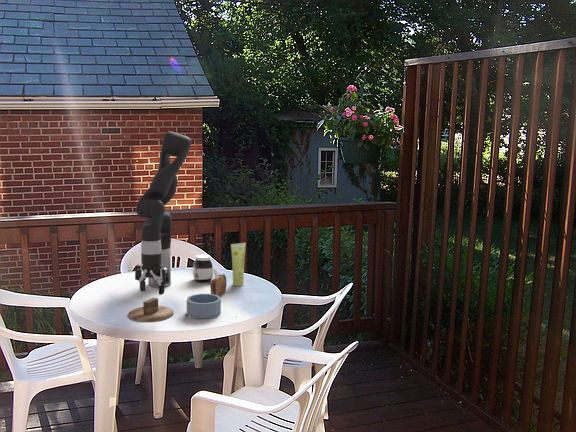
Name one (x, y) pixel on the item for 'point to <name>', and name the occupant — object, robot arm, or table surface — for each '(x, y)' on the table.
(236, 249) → the tube
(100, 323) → the table surface
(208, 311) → the bowl
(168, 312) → the lid
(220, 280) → the brown thin box
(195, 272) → the spread jar
